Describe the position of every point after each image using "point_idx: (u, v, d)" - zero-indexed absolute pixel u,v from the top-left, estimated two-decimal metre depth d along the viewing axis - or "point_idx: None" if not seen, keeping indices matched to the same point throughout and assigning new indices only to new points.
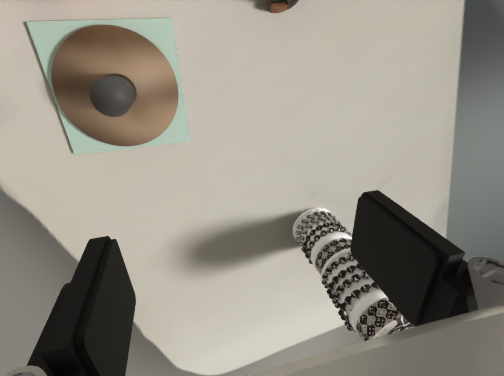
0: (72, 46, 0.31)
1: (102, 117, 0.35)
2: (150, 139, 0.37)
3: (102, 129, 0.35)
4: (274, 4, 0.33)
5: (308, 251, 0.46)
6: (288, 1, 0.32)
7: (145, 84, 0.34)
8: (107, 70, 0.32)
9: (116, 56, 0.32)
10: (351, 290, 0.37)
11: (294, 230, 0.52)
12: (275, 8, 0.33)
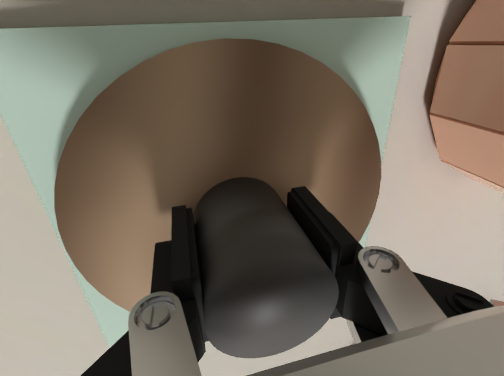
0: (350, 125, 0.12)
1: (157, 173, 0.10)
2: (101, 288, 0.12)
3: (113, 168, 0.10)
4: None
5: None
6: None
7: None
8: None
9: None
10: None
11: None
12: None
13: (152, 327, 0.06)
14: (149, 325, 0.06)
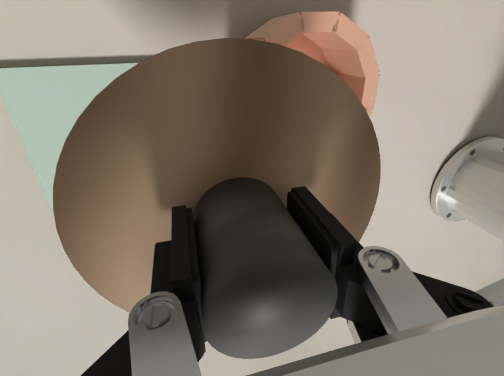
0: (349, 125, 0.11)
1: (156, 173, 0.10)
2: (99, 288, 0.12)
3: (112, 169, 0.10)
4: None
5: None
6: None
7: None
8: None
9: None
10: None
11: None
12: None
13: (152, 327, 0.06)
14: (149, 325, 0.06)
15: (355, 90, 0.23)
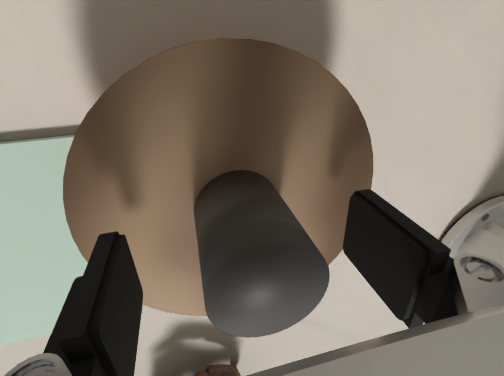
0: (343, 121, 0.12)
1: (160, 166, 0.11)
2: None
3: (118, 161, 0.11)
4: None
5: None
6: None
7: None
8: (285, 190, 0.13)
9: (312, 208, 0.14)
10: None
11: None
12: None
13: None
14: None
15: None
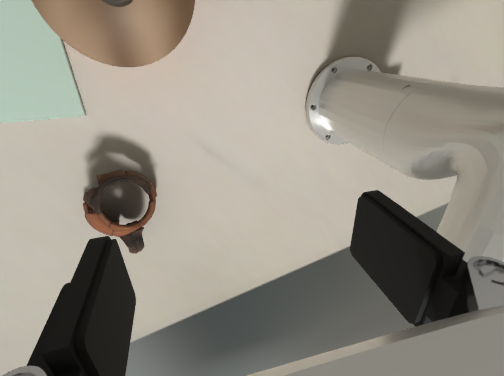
0: None
1: None
2: (42, 14, 0.24)
3: None
4: (86, 207, 0.38)
5: None
6: None
7: (129, 22, 0.26)
8: None
9: None
10: None
11: None
12: None
13: None
14: None
15: None
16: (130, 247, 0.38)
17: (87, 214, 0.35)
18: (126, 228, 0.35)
